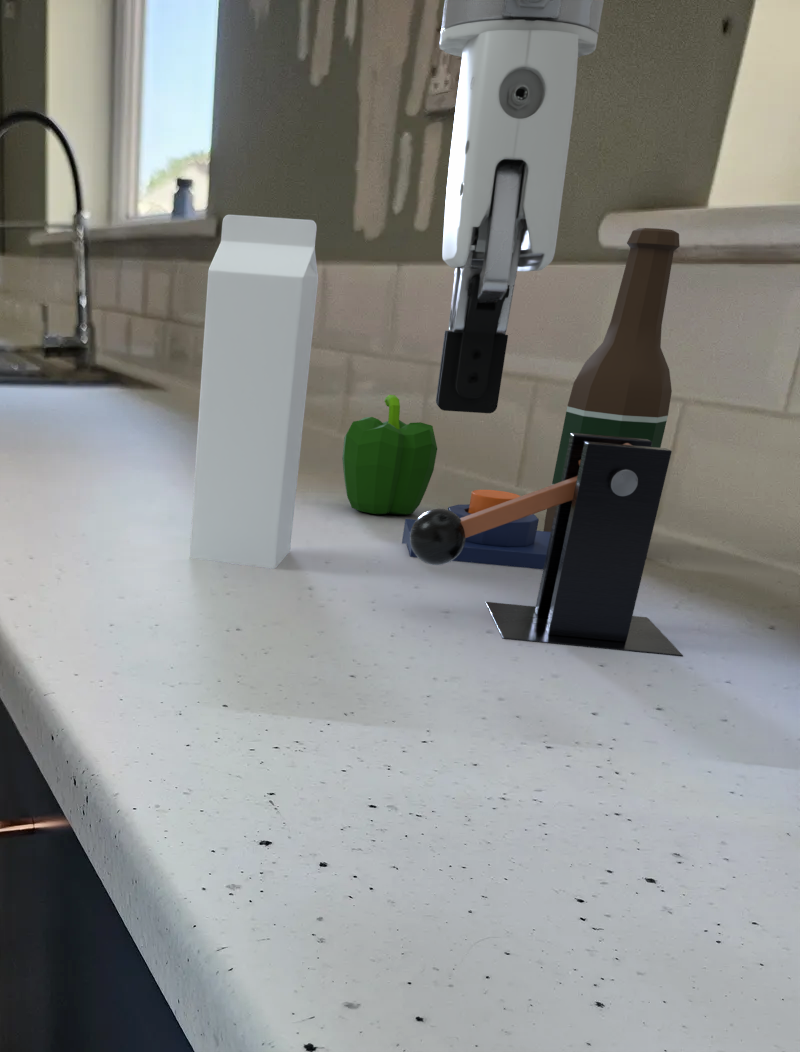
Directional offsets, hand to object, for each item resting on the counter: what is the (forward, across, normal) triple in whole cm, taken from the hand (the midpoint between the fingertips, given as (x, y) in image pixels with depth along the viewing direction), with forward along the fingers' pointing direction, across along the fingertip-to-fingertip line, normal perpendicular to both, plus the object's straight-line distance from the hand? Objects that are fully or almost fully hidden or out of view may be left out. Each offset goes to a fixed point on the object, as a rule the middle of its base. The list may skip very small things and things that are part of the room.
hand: (465, 409), depth 62 cm
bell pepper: (+13, +39, +2) cm, 41 cm away
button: (+9, +20, -5) cm, 23 cm away
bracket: (+13, 0, -8) cm, 15 cm away
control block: (+13, +20, -5) cm, 24 cm away
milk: (+13, +11, +13) cm, 21 cm away
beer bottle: (+13, +31, -15) cm, 37 cm away
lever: (+6, 0, -5) cm, 8 cm away
